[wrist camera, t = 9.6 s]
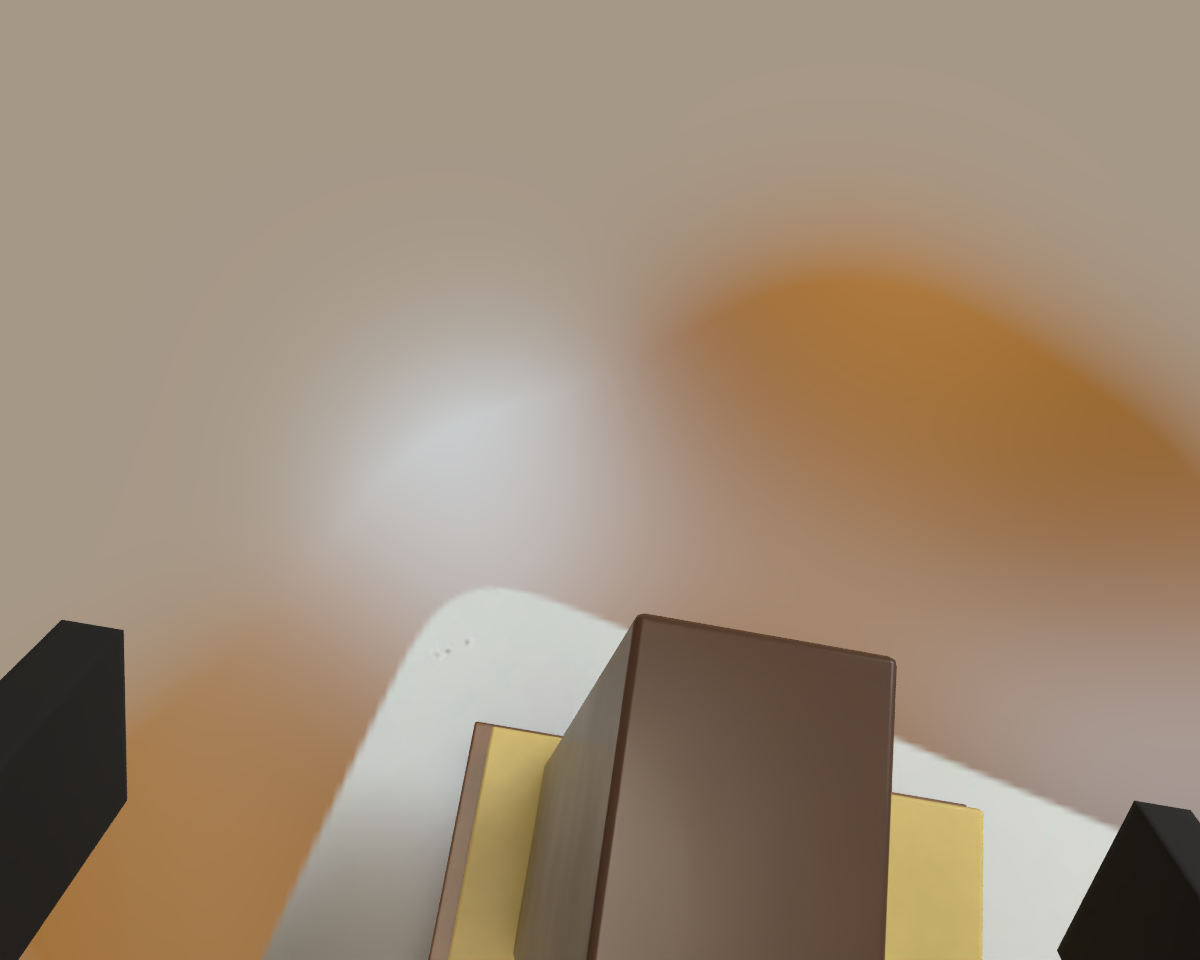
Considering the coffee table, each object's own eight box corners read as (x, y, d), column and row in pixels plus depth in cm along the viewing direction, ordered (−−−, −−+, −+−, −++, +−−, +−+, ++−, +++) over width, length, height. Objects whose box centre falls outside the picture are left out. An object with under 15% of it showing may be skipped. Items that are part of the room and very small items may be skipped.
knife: (501, 973, 21) (529, 1367, 5) (539, 746, 23) (653, 497, 7) (582, 986, 21) (871, 1414, 5) (615, 759, 23) (904, 542, 7)
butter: (452, 957, 21) (443, 979, 17) (491, 746, 23) (491, 725, 19) (899, 1028, 22) (983, 1065, 18) (906, 816, 23) (984, 809, 20)
